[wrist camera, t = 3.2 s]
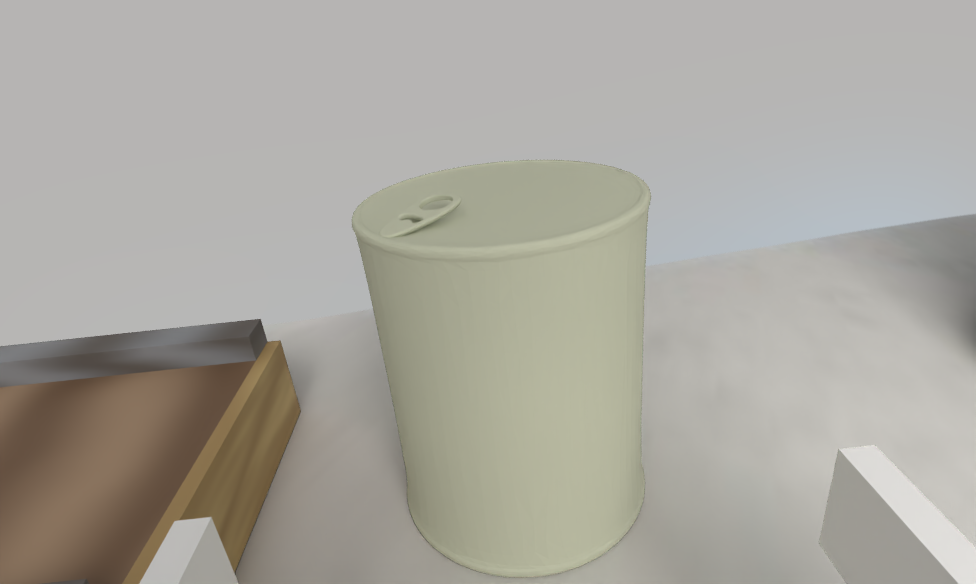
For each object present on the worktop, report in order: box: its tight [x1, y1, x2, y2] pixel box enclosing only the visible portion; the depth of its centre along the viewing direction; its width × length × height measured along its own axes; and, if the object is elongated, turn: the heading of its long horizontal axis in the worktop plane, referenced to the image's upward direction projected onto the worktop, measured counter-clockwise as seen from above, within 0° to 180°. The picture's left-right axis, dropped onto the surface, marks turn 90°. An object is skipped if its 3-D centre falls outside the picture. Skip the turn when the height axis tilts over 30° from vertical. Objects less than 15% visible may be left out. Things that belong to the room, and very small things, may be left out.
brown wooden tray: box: [0, 319, 301, 584], centre depth 20 cm, size 15×15×5 cm
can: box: [352, 160, 651, 578], centre depth 20 cm, size 9×9×12 cm
